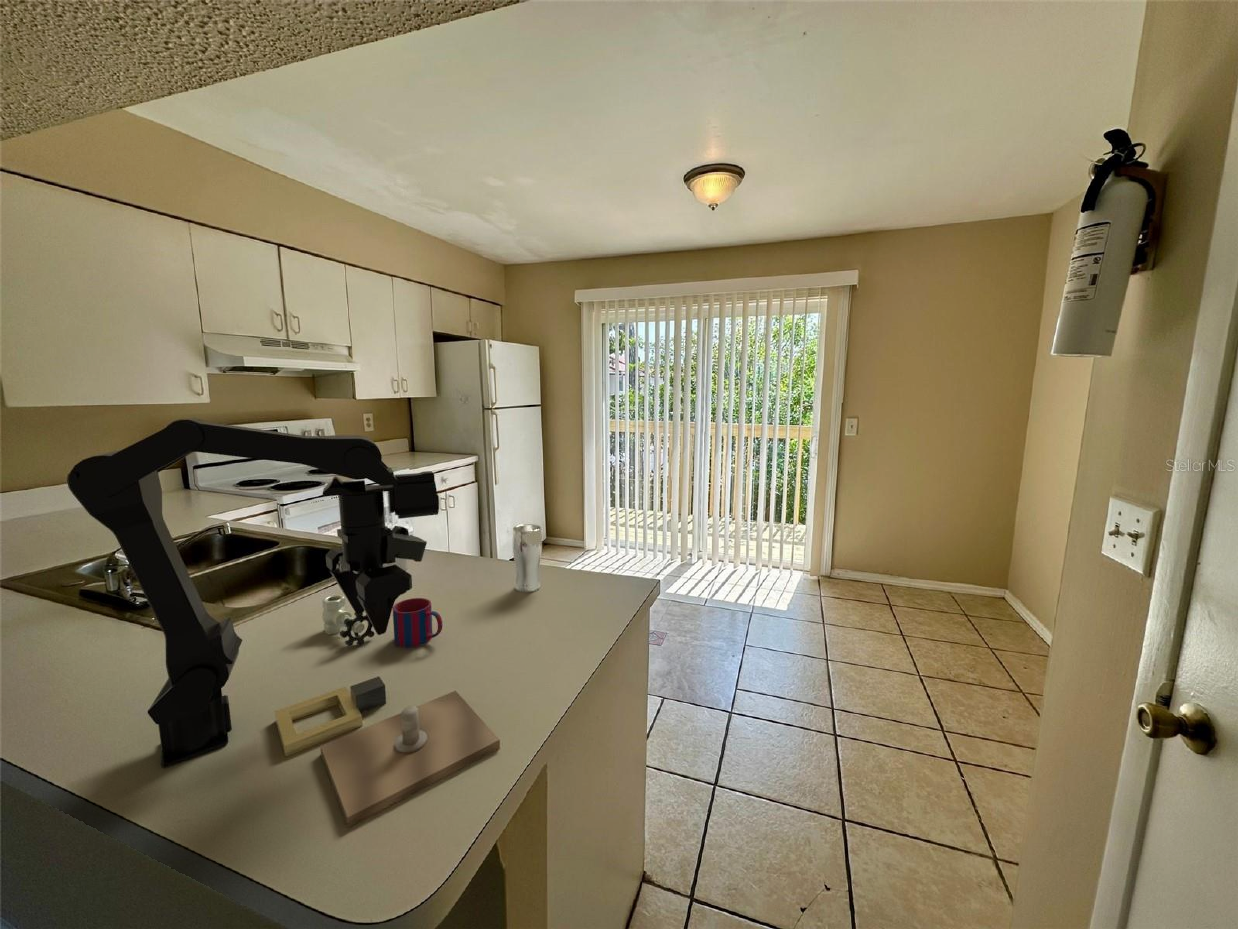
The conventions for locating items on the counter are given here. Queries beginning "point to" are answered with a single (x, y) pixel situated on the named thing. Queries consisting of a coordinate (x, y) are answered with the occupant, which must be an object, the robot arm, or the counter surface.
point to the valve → (344, 620)
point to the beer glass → (527, 556)
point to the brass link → (350, 706)
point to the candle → (399, 563)
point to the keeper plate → (404, 754)
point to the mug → (414, 622)
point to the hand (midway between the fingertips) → (370, 623)
